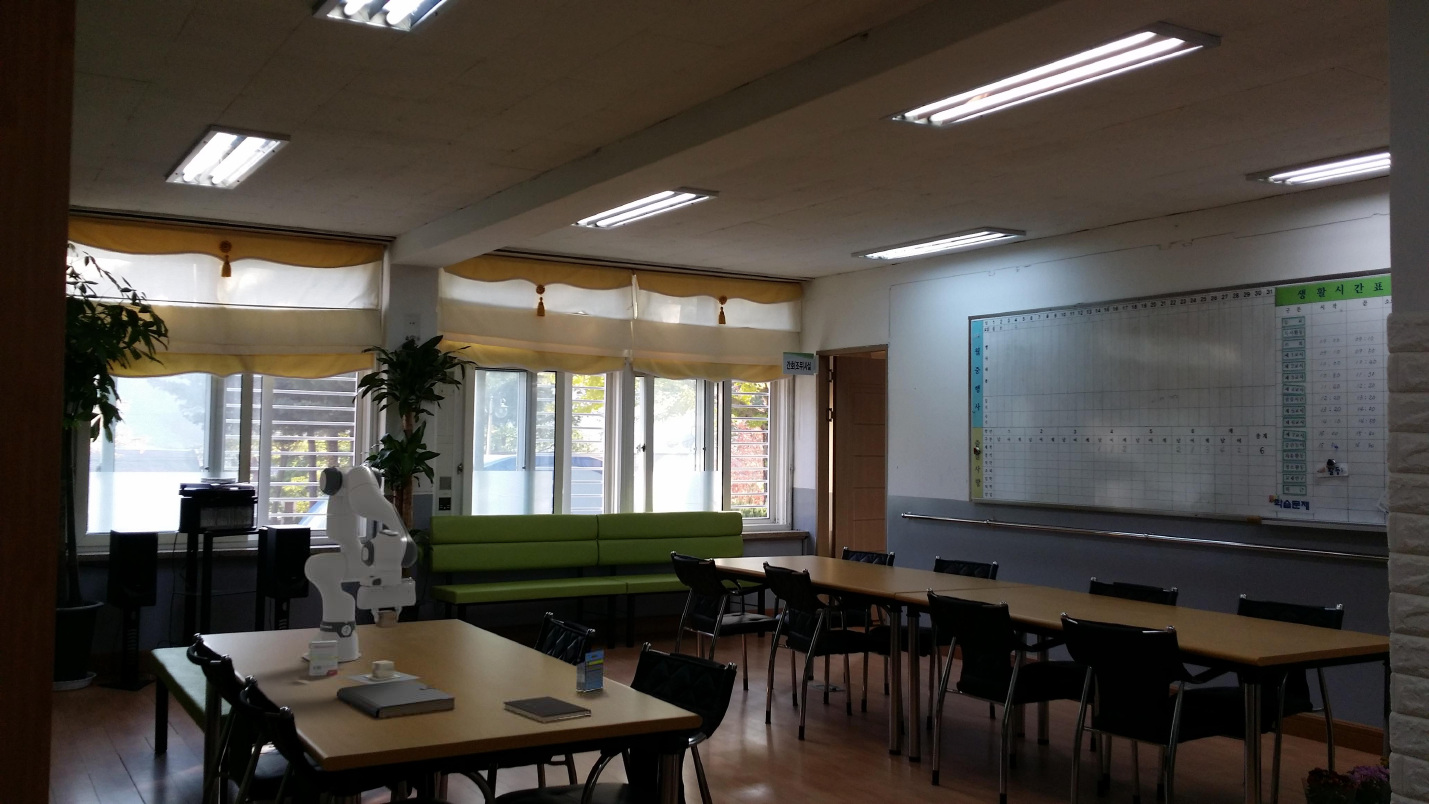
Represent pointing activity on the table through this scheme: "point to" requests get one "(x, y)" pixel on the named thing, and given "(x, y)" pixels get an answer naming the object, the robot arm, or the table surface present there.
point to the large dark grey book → (396, 698)
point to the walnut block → (387, 619)
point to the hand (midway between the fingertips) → (386, 621)
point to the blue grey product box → (590, 672)
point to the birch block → (382, 669)
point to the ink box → (323, 658)
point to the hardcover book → (546, 708)
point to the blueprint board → (370, 680)
